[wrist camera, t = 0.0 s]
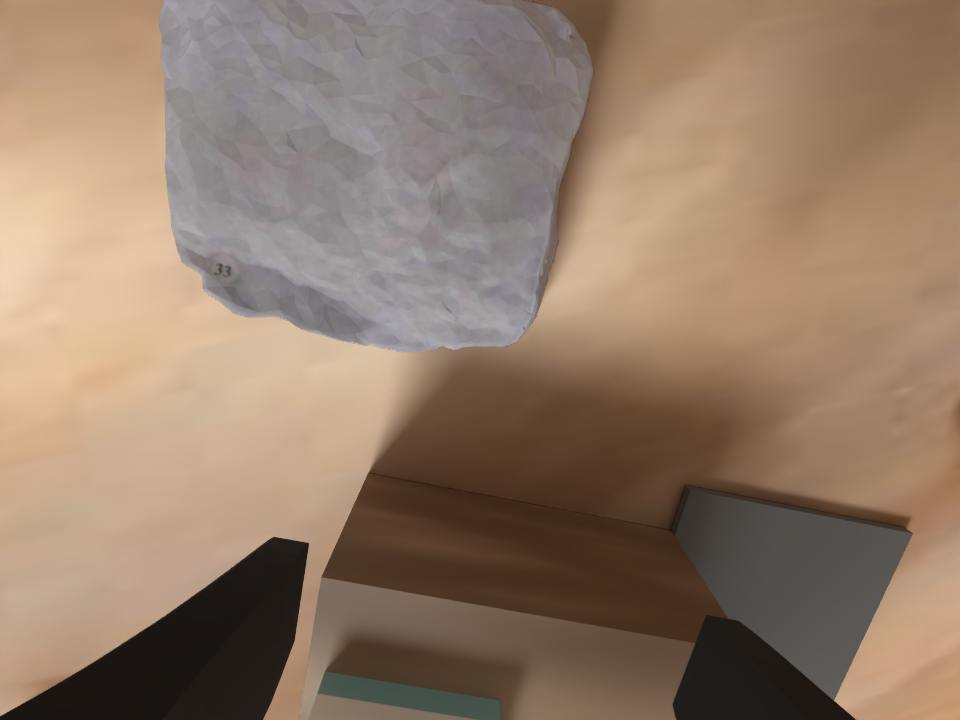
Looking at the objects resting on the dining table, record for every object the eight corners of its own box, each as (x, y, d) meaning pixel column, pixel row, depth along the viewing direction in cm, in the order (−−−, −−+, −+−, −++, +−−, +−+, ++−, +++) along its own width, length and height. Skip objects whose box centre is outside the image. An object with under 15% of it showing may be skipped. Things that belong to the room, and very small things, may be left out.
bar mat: (751, 855, 24) (755, 865, 24) (568, 828, 24) (570, 837, 23) (904, 527, 20) (912, 533, 20) (686, 485, 19) (690, 490, 19)
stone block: (540, 326, 20) (590, 25, 16) (549, 384, 16) (621, -11, 11) (240, 291, 20) (207, -18, 16) (165, 339, 16) (92, -71, 11)
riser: (579, 796, 23) (614, 984, 17) (318, 755, 23) (264, 936, 17) (670, 530, 20) (751, 652, 14) (368, 473, 19) (321, 577, 13)
